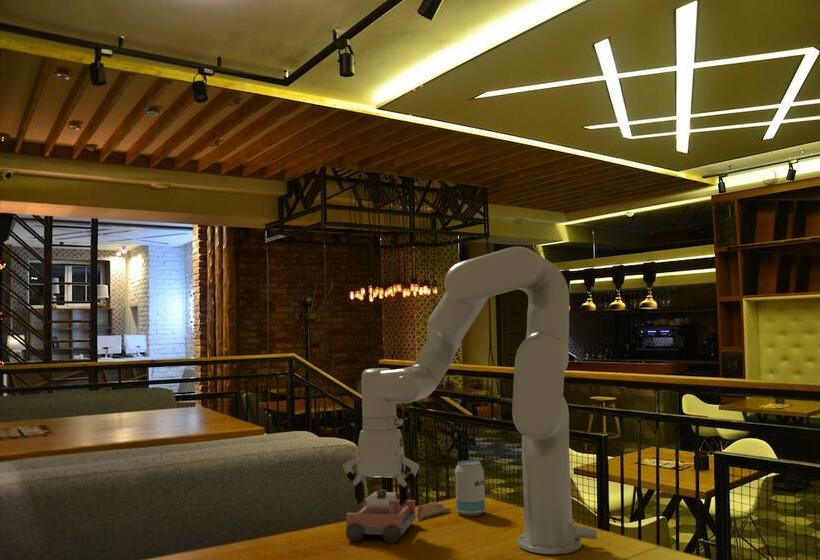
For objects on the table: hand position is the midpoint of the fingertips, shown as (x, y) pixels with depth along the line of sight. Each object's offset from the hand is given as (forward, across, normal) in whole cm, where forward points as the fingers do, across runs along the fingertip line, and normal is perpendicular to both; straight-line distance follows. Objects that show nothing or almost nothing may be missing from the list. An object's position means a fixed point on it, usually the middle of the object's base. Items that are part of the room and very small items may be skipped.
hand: (381, 503), depth 146 cm
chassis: (+6, 0, 0) cm, 6 cm away
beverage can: (+6, -17, -18) cm, 25 cm away
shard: (+7, -8, -16) cm, 20 cm away
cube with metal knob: (+3, 0, 0) cm, 3 cm away
